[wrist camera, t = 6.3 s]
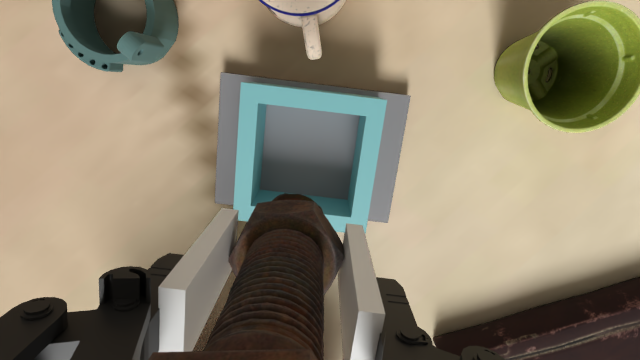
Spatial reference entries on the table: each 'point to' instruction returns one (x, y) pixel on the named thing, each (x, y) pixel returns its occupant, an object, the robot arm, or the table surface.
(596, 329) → the diary
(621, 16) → the plant pot
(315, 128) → the socket
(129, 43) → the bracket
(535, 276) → the table surface
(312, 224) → the bolt
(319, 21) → the teacup with lid
